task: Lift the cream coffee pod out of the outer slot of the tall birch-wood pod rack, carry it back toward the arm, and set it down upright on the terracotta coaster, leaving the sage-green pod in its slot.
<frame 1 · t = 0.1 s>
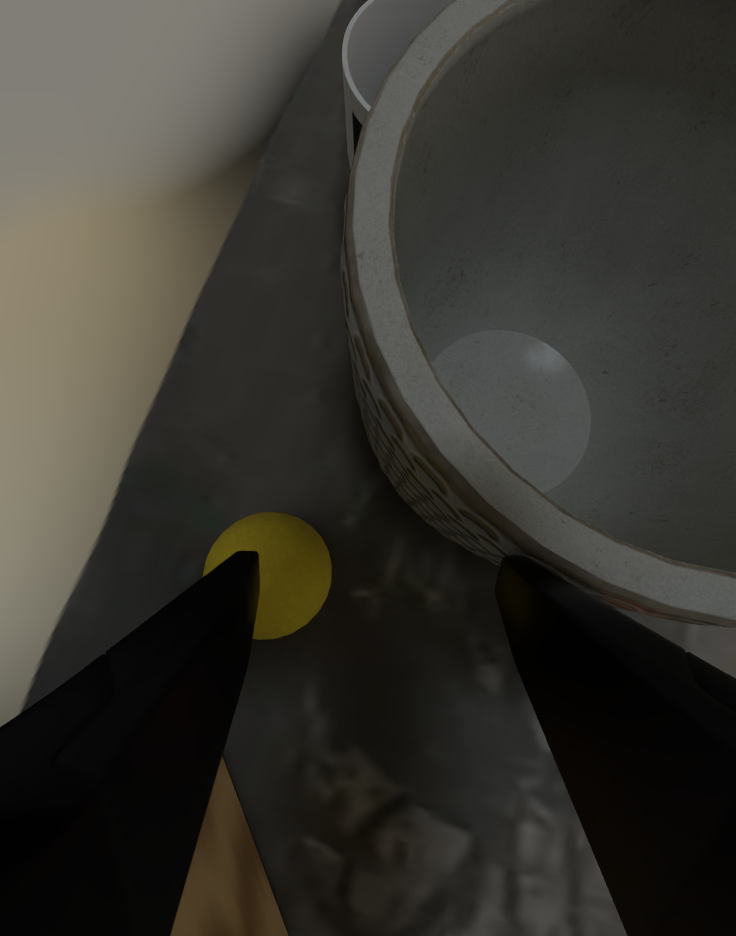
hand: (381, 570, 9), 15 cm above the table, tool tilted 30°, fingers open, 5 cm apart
pod rack: (192, 894, 21), on the table
cup: (406, 234, 28), on the table
planter: (489, 424, 25), on the table, touching gripper
lemon: (283, 567, 24), on the table
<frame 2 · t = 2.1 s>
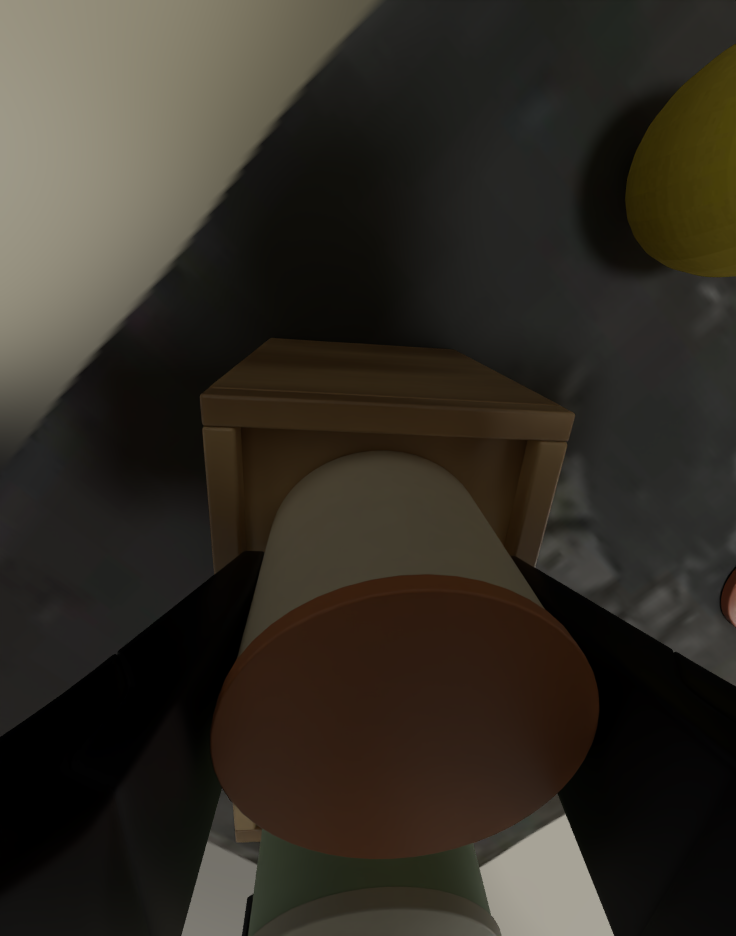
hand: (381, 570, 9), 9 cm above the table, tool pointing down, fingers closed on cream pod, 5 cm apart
pod rack: (354, 502, 19), on the table
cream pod: (377, 548, 10), point 9 cm above the table, touching gripper, pod rack
green pod: (360, 740, 12), point 8 cm above the table, touching pod rack
lemon: (651, 193, 15), on the table
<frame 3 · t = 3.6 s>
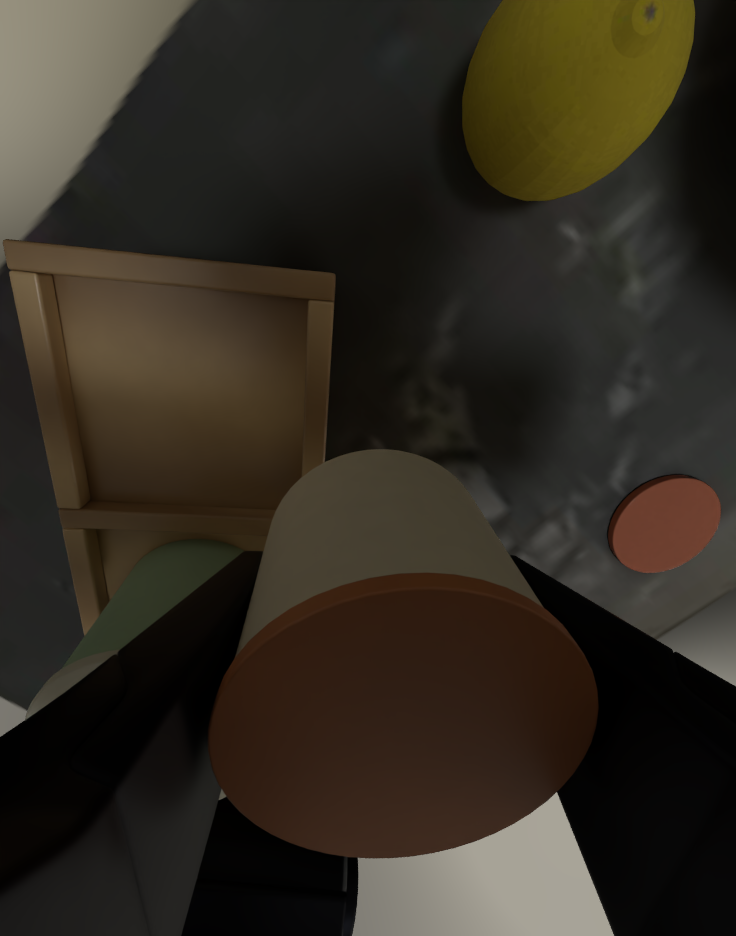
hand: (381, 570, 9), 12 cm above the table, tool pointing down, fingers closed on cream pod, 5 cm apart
pod rack: (252, 425, 20), on the table
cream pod: (376, 547, 10), point 12 cm above the table, touching gripper
green pod: (205, 602, 14), point 8 cm above the table, touching pod rack
lemon: (508, 134, 17), on the table
coaster: (660, 523, 24), on the table
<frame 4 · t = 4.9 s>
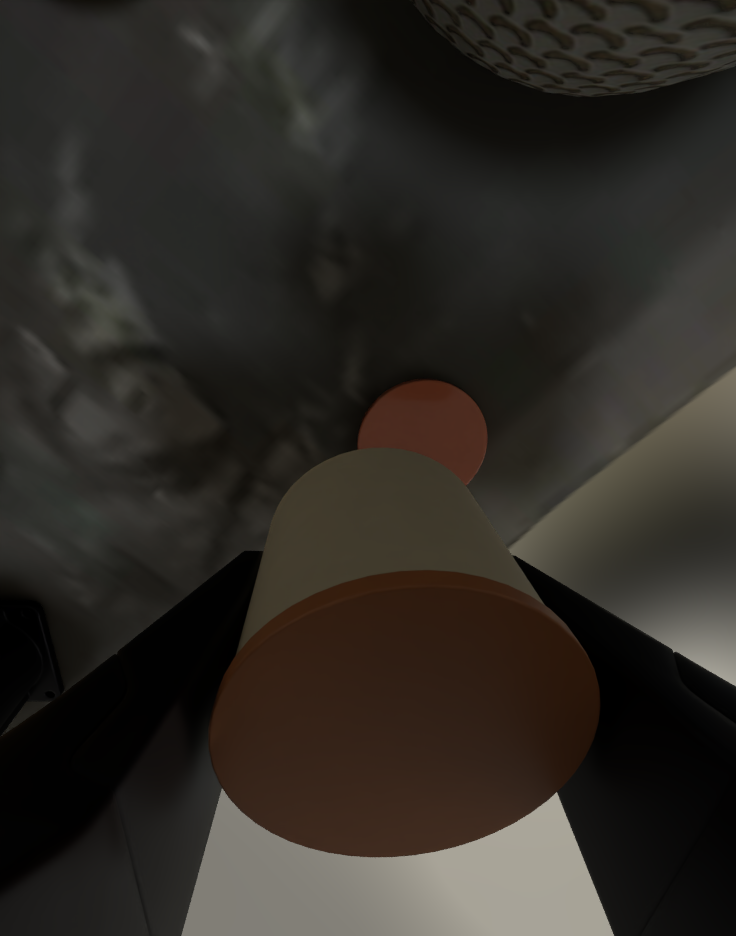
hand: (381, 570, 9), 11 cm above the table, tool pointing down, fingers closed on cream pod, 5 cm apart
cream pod: (376, 546, 10), point 10 cm above the table, touching gripper
coaster: (421, 442, 20), on the table
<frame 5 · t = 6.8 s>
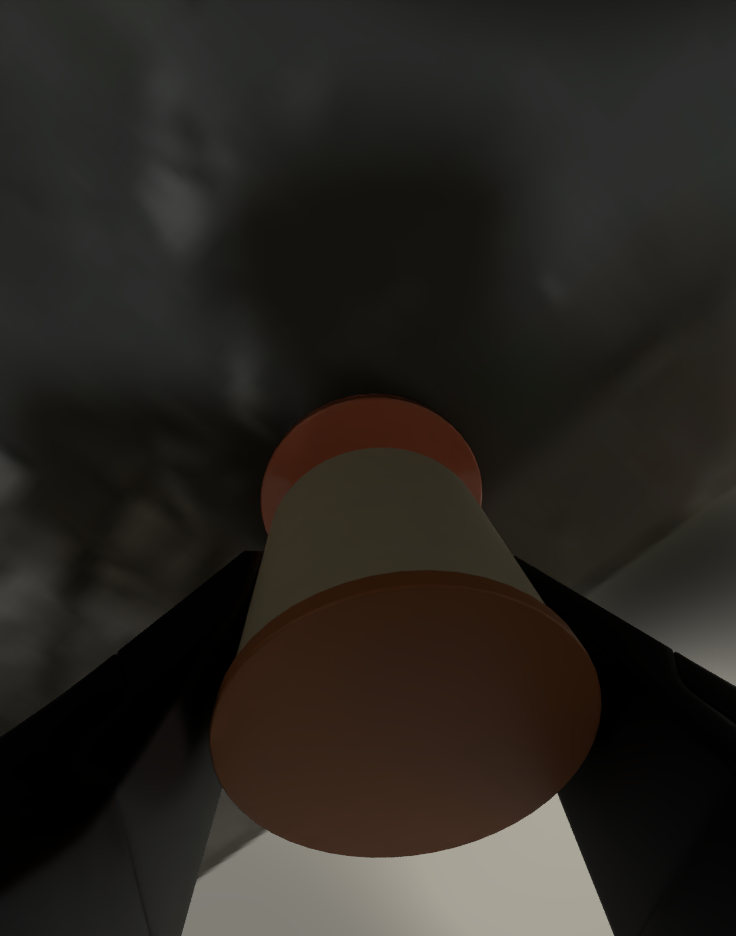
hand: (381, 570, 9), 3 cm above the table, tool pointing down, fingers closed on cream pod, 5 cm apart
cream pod: (377, 546, 10), point 3 cm above the table, touching gripper
coaster: (371, 498, 12), on the table
when the fingers open (1 cm above the table, at t = 7.9 s): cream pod stays where it is, resting on coaster.
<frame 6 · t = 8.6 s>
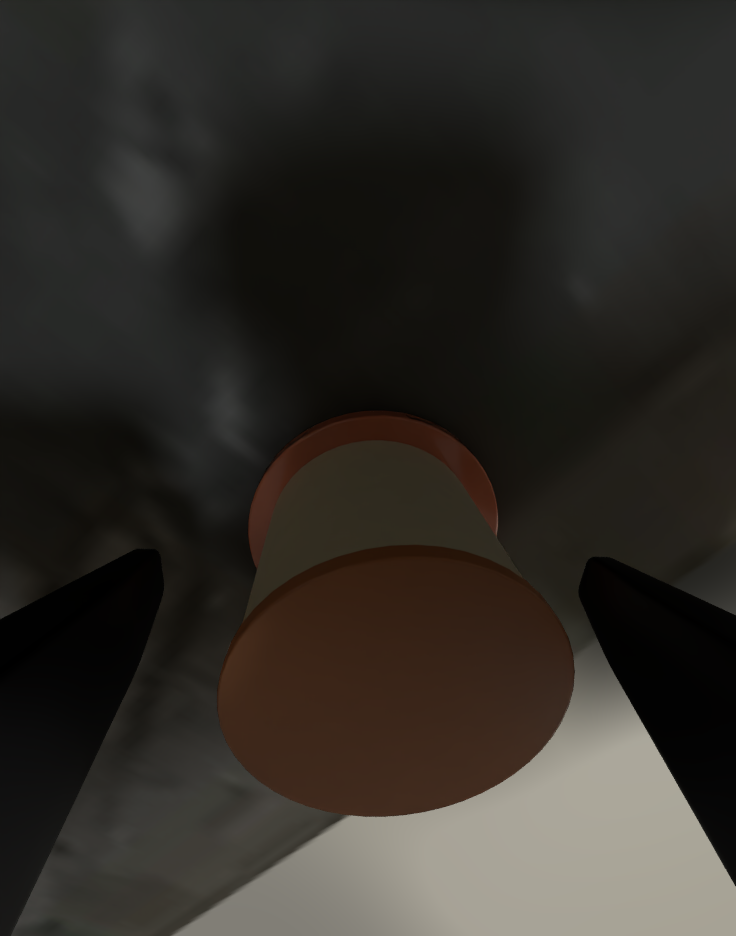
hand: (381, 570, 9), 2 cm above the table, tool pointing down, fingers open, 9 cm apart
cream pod: (373, 534, 10), resting on coaster
coaster: (373, 526, 11), on the table
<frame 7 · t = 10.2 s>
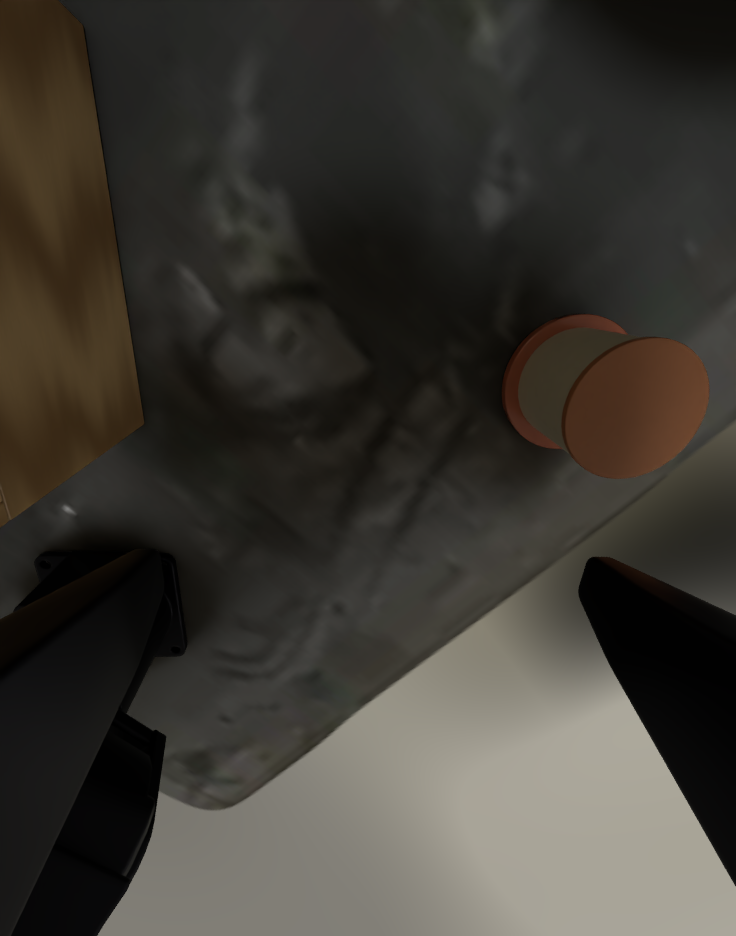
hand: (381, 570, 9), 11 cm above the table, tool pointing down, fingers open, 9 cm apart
pod rack: (22, 250, 16), on the table
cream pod: (571, 384, 19), resting on coaster
coaster: (566, 383, 20), on the table
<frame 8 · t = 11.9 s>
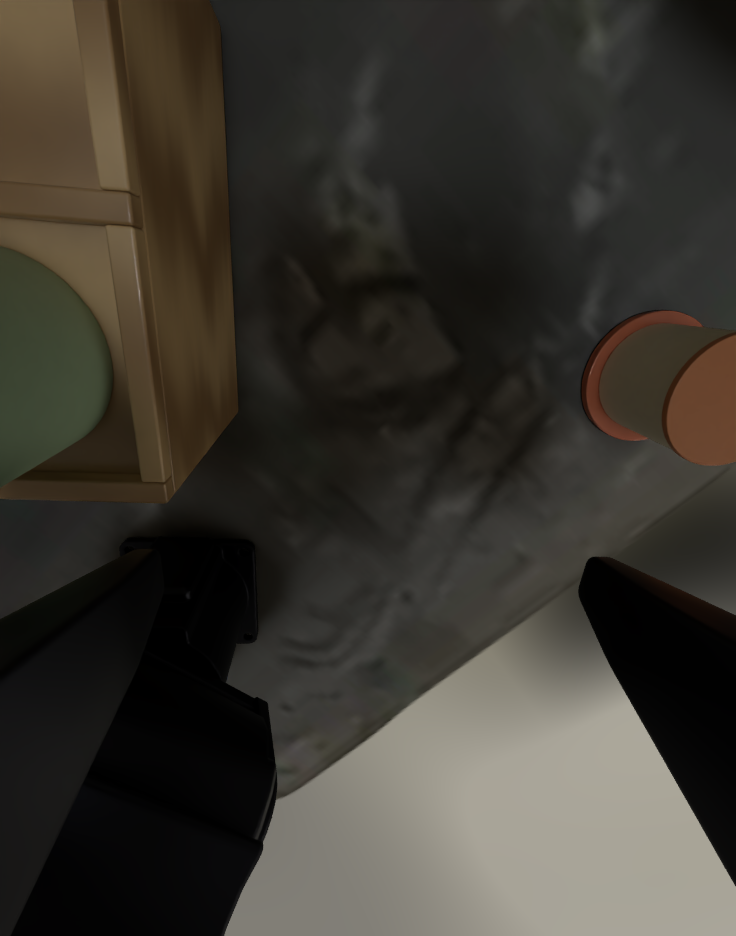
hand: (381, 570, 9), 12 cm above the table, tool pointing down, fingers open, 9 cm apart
pod rack: (138, 240, 17), on the table
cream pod: (649, 377, 20), resting on coaster
green pod: (6, 356, 10), point 8 cm above the table, touching pod rack
coaster: (643, 377, 20), on the table
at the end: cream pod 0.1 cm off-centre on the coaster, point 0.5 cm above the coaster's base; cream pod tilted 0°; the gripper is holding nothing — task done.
